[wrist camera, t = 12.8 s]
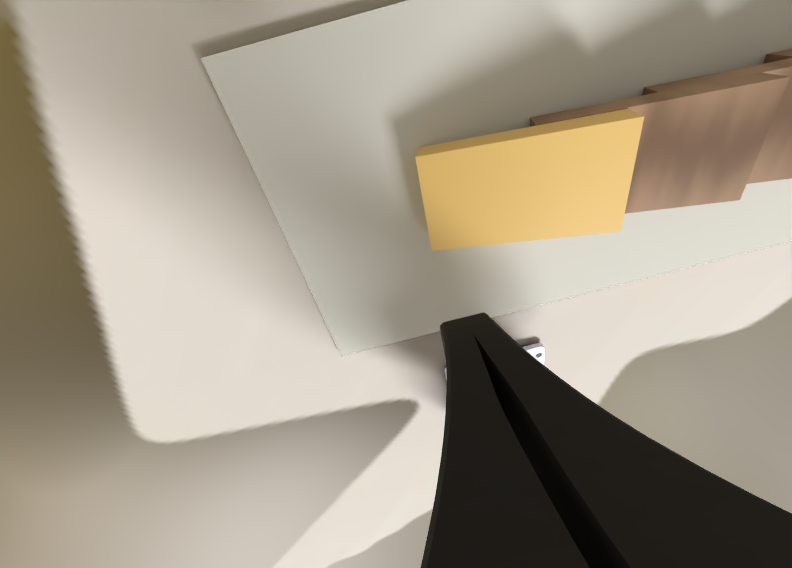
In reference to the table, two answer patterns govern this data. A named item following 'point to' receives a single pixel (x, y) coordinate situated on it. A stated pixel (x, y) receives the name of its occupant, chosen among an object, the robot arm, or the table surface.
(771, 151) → the domino
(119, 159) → the table surface
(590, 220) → the domino
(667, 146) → the domino
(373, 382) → the table surface
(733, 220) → the mat
